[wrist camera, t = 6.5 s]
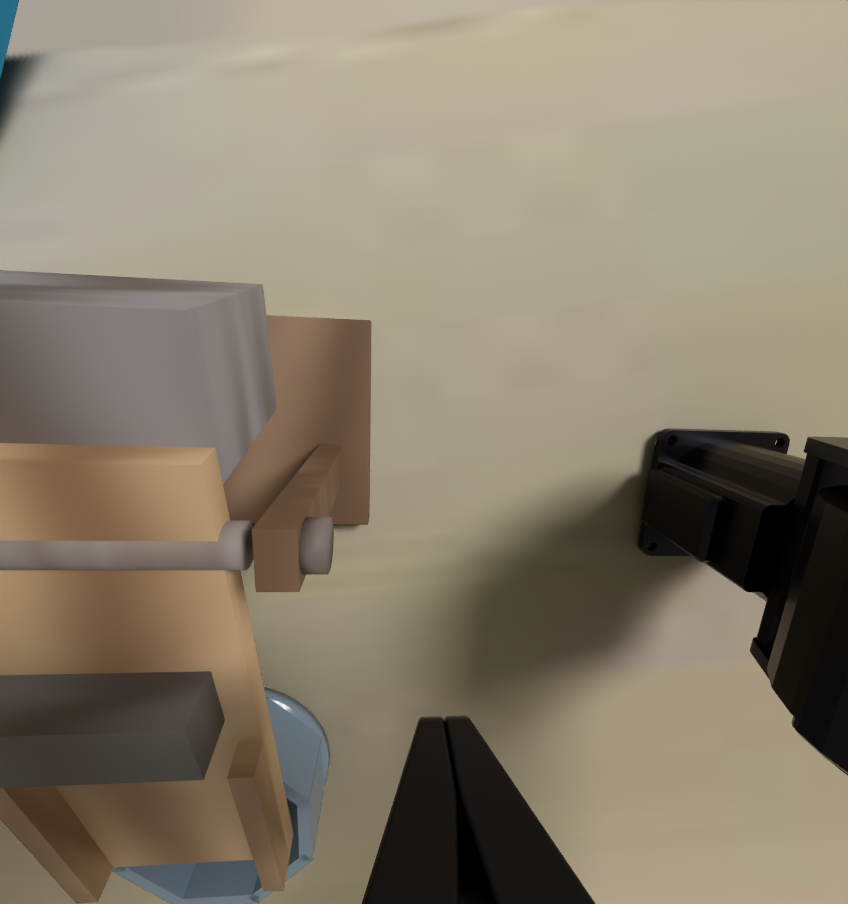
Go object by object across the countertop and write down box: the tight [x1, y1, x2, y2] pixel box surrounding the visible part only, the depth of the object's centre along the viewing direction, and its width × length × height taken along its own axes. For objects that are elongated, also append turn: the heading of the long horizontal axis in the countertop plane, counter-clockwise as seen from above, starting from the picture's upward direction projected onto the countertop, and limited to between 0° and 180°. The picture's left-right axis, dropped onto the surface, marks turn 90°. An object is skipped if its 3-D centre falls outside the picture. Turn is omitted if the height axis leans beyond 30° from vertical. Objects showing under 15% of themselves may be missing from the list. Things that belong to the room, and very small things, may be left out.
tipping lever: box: [0, 270, 293, 903], centre depth 14 cm, size 9×22×7 cm, turn 178°
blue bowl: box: [112, 688, 330, 904], centre depth 21 cm, size 10×10×4 cm
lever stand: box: [223, 316, 371, 592], centre depth 13 cm, size 14×9×10 cm, turn 88°
